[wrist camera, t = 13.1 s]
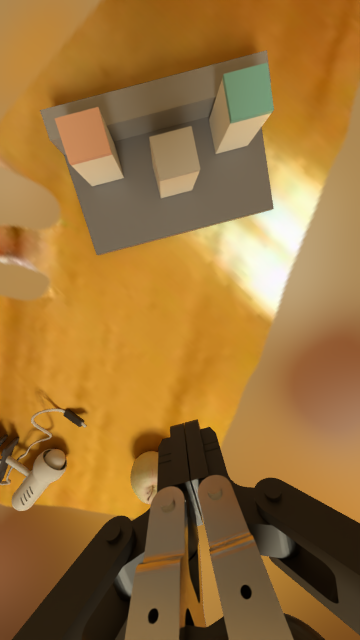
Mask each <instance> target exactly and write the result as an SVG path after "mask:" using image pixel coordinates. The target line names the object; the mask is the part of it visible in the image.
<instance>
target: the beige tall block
mask: <svg viewBox="0 0 360 640" xmlns="http://www.w3.org/2000/svg"><path fill="white" fill-rule="evenodd" d="M149 140H150V148H151V156H152V164H153V169H154V173H155V177H156V181H157V185H158V189H159V193H160V197H161V198H164V197H168V196H172V195H176V194H180V193H183V192H187V191H191V190H192V189H193V186H194V184H195V181H196V179H197V176H198V174H199V171H200V165H199V160H198V155H197V150H196V146H195V141H194V136H193V131H192V126H189V127H185V128H182V129H178V130H174V131H170V132H166V133H163V134H159V135H155V136H151V137H149Z"/></svg>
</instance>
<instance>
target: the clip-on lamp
mask: <svg viewBox="0 0 360 640" xmlns="http://www.w3.org/2000/svg"><path fill="white" fill-rule="evenodd" d="M48 411H59V412H63V413H64V416H65V417H66V418H68V419H69V420H70V421H72V422H73V423H74V424H76V425H77V426H79V427H81V426H83V427H84V428H85V427H86V426H87V425H85V424H84V420H83V419H81V418H80V417H79V416H77V415H76V414H74V413H73V412H72V411H70V410H66V411H65V410H63V409H47V410H43V411H40V412H38V413H36V414H35V415H33V417H32V418H31V422H32V424H33V425H34V426H35V427H36V428H38V429H39V430H41V431H43V432H44V433H46V434H48V435H49V436H50V437H47V438H44V439H41V440H38V441H36V442H34V443H32V444H31V445H30V446H29V448H28V450H27V452H26V453H25V454H23V455H21V456H20V457H19V458H18V459H17V460H15V459H13V458H12V457H11V455H12V452H13V449H14V447H15V445H16V444H17V443H18V440H19V437H16V438H15V439H14V440H13V441H12V442H11V443H10V444H9V445H7V446H6V447H5V448H4V450H3V452H2V454H1V456H3V457H2V459H0V485H6V484H10V482H11V480H9V479H8V476H9V474H10V471H11V470H12V468H15V469H16V470H18V471H19V472H21V473H23V474H24V475H25V476H26V478H25V479H24V480H23V483H22V484H21V485H20V486H19V488H18V489H17V490H16V492H15V493H14V494H13V497H12V505H13V507H14V508H15V509H16V510H18V511H24V510H27V509H29V508H30V507H31V506H32V505H33V504H34V503H35V501H36V500H37V499H38V498H39V496H40V495H41V494H42V493H43V492H44V490H45V489H46V488H47V487H48V485H49V484H50V483H51V482H54V481H56V480H58V479H59V478H60V477H61V476H62V475H63V473H64V472H65V470H66V467H67V460H66V458H65V454H64V452H63V451H61V450H59V449H47V450H45V451H43V452H42V453H41V454H40V455H39V456H38V457H37V458H36V460H35V462H34V465H33V470H31V471H29V470H28V468H27V467H25V466H24V465H22V464H21V463H19V462H18V460H19V459H20V458H22V457H24V456H25V455H27V453H28V451H29V449H30V448H31V446H33V445H34V444H35V443H38V442H40V441H44V440H47V439H49V438H51V437H52V434H51V433H50V432H49V431H47V430H46V429H44V428H42V427H40V426H39V425H38V424H36V423H35V422H34V418H35V416H37V415H38V414H41V413H44V412H48ZM7 436H8V435H6V434H5V435H4V436H3V437H2V438H0V446H1V445H2V443H3V442H4V441H5V440H6V438H7ZM8 464H9V465H10V466H12V467H11V468H10V470H9V472H8V475H7V479H6V480H7V481H2V480H3V478H4V475H5V472H6V469H7V466H8Z"/></svg>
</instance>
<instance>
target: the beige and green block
mask: <svg viewBox="0 0 360 640" xmlns="http://www.w3.org/2000/svg"><path fill="white" fill-rule="evenodd" d="M273 110H274V107H273V100H272V92H271V85H270V77H269V70H268V62H267V63H264V64H260V65H256V66H252V67H249V68H245V69H241V70H237V71H233V72H230V73H226V74H224V75H223V78H222V81H221V84H220V87H219V90H218V93H217V97H216V100H215V103H214V106H213V109H212V112H211V115H210V118H209V123H210V128H211V133H212V138H213V143H214V149H215V154H218V153H222V152H225V151H229V150H233V149H237V148H241V147H244V146H248V144H249V143H250V142H251V140H252V139H253V137H254V136H255V135H256V133H257V132H258V131H259V129H260V128H261V127H262V125H263V124H264V122H265V121H266V120H267V118H268V117H269V116H270V114H271V113H272V111H273Z"/></svg>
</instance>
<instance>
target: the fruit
mask: <svg viewBox="0 0 360 640" xmlns="http://www.w3.org/2000/svg"><path fill="white" fill-rule="evenodd" d="M157 476H158V452H156V451H148V452H145V453H143V454H141V455H140V456H139V457H138V458H137V459H136V460H135V462H134V464H133V467H132V471H131V485H132V488H133V490H134V492H135V494H136V495H137V497H138V498H139V499H140V500H141V501H142V502H144V503H146V504H151V502H152V500H153V498H154V496H155V495H156V494H157Z"/></svg>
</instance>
